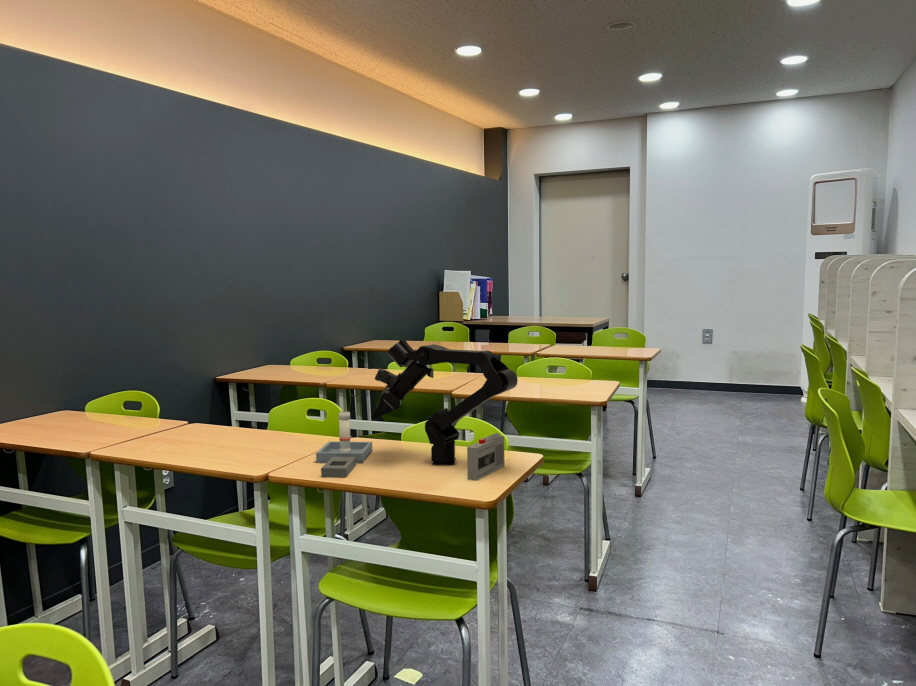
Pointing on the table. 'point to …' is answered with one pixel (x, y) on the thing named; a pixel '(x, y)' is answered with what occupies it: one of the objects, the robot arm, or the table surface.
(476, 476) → the cassette player
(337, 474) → the block
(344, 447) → the cup
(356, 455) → the tray
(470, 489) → the table surface
